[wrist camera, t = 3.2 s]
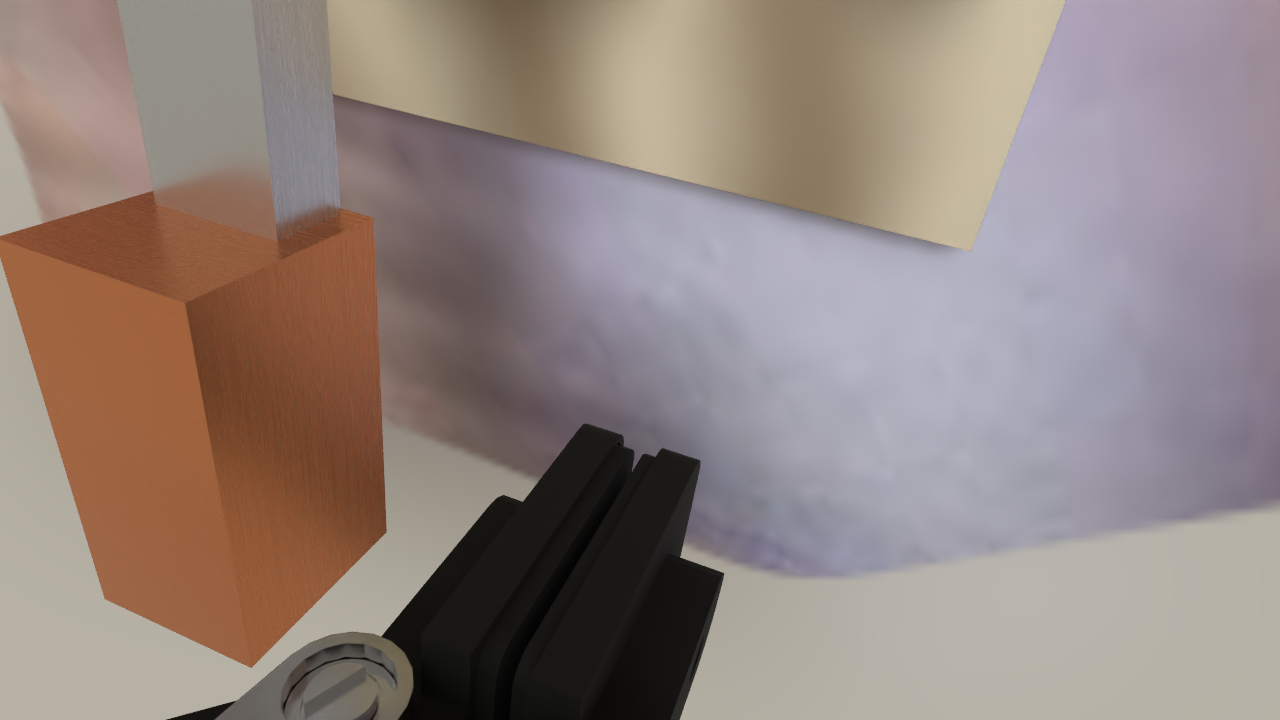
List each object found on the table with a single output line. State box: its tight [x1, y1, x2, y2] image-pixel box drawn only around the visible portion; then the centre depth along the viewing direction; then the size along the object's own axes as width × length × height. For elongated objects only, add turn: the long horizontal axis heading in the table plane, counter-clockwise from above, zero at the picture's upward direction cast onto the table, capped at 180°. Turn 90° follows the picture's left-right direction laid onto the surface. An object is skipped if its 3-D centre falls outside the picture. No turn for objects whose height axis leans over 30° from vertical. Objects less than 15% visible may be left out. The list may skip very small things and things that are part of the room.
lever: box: [0, 0, 386, 668], centre depth 9 cm, size 15×3×3 cm, turn 172°
